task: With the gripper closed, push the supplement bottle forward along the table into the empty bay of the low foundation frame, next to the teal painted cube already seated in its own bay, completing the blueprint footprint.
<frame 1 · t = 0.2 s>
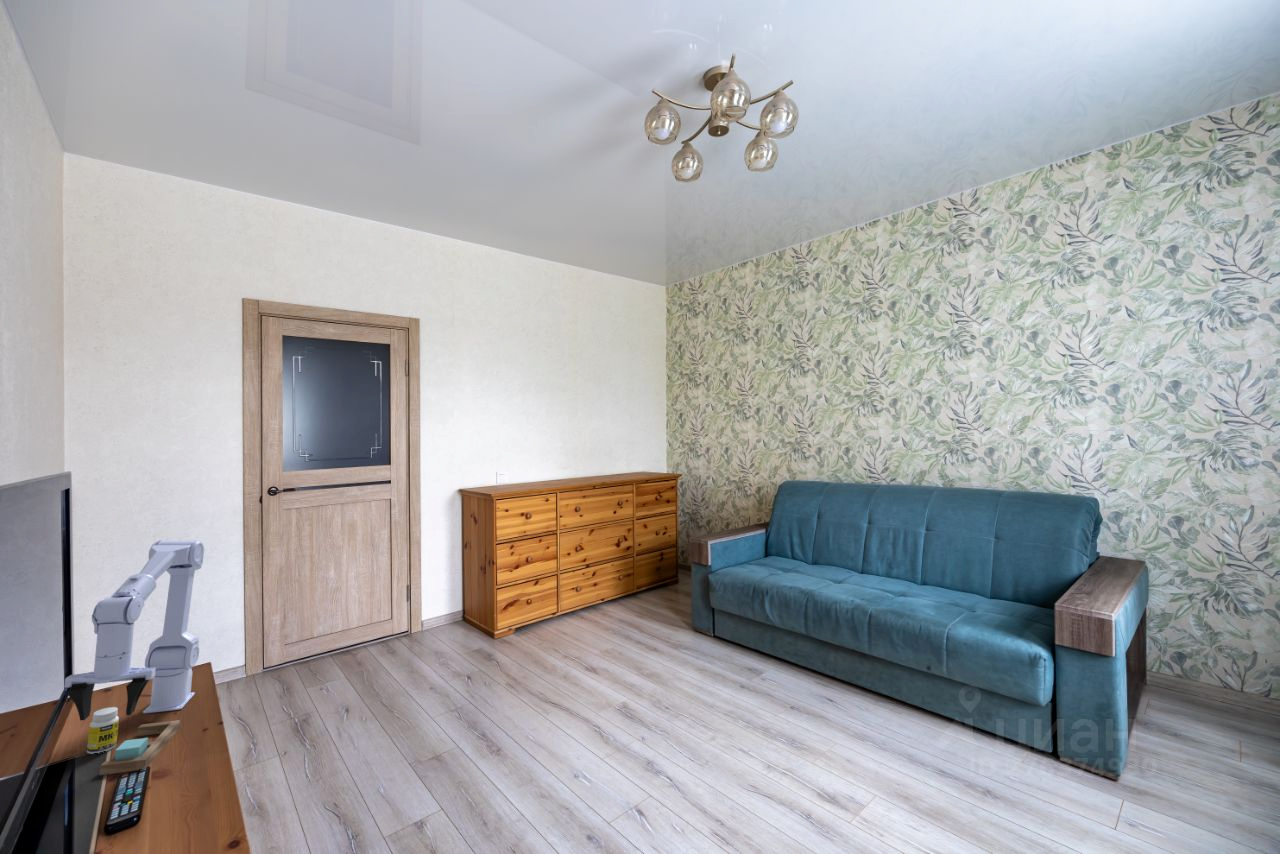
hand: (107, 715, 116), 10 cm above the tv stand, fingers open, 7 cm apart
foundation frame: (146, 742, 123), on the tv stand
supplement bottle: (101, 749, 120), on the tv stand
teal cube: (130, 762, 116), resting in foundation frame
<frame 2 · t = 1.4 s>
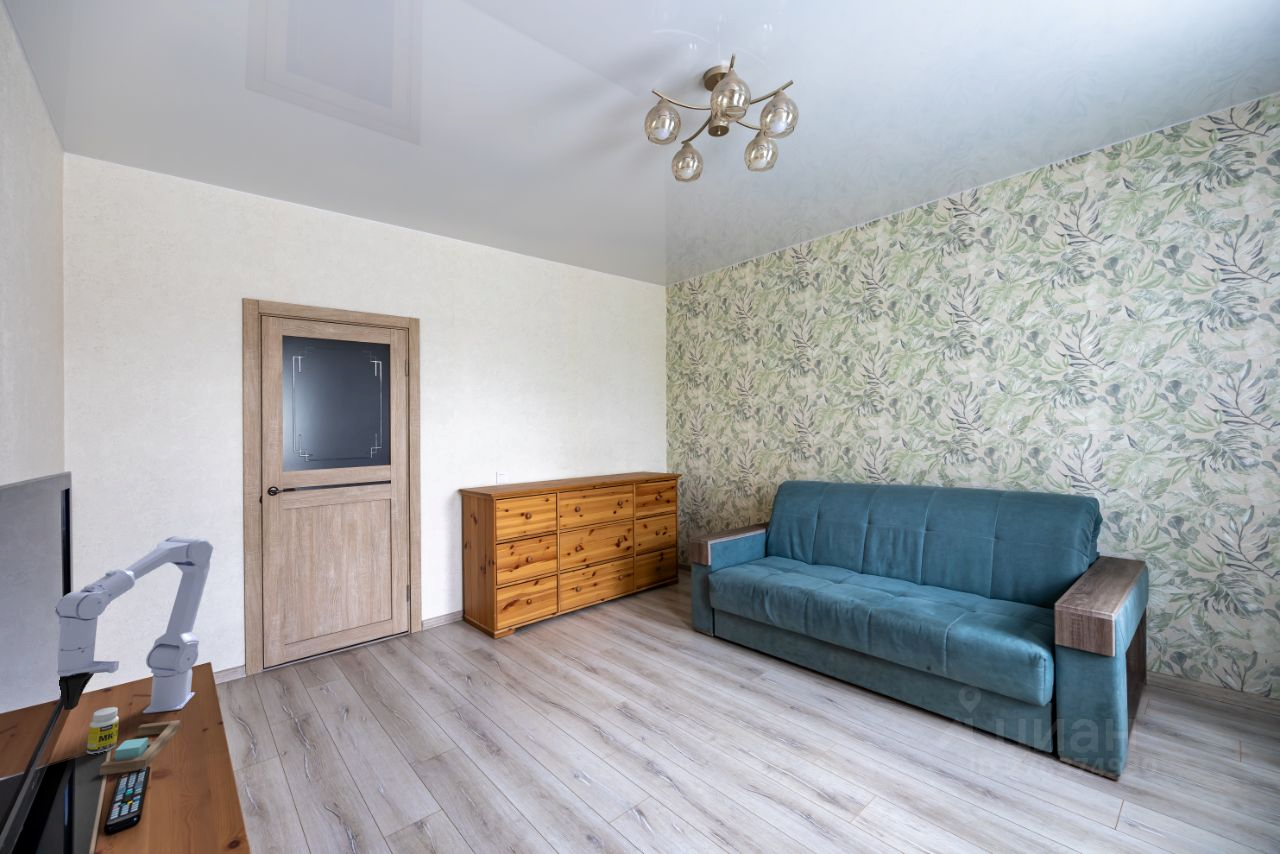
hand: (71, 707, 119), 10 cm above the tv stand, fingers closed
nothing on the tv stand moved.
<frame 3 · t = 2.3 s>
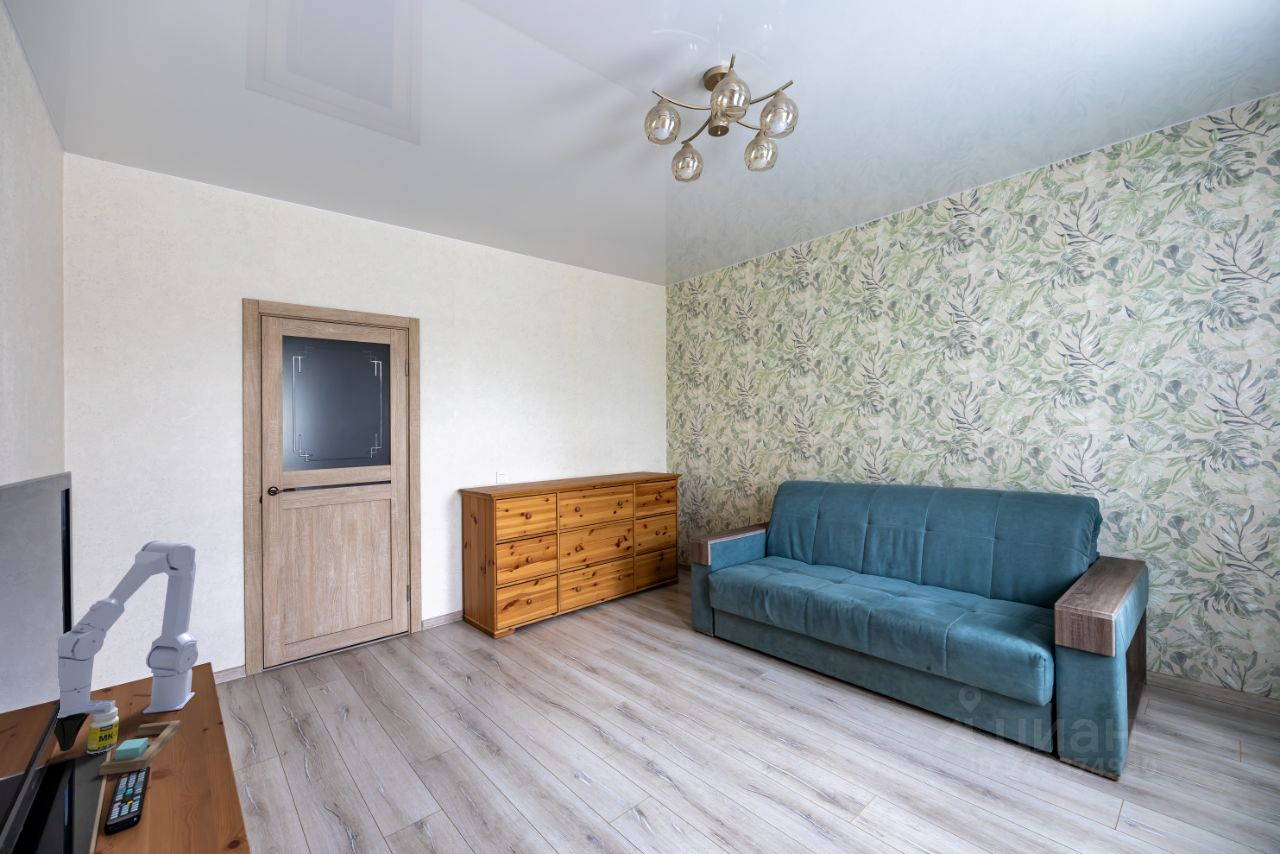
hand: (67, 748, 118), 1 cm above the tv stand, fingers closed
nothing on the tv stand moved.
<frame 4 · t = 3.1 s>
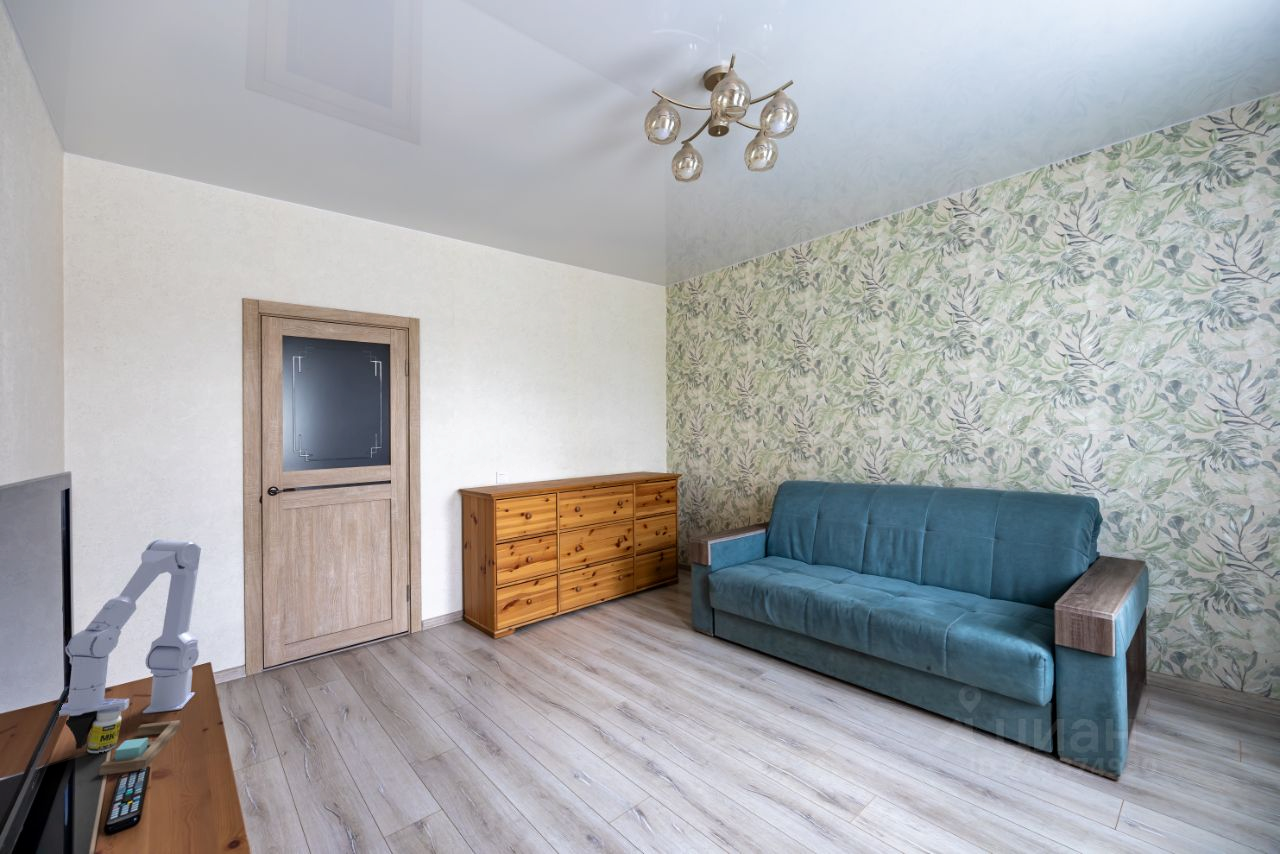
hand: (81, 746, 119), 1 cm above the tv stand, fingers closed, pressing on supplement bottle
supplement bottle: (101, 748, 120), on the tv stand, touching gripper
everything else where it was.
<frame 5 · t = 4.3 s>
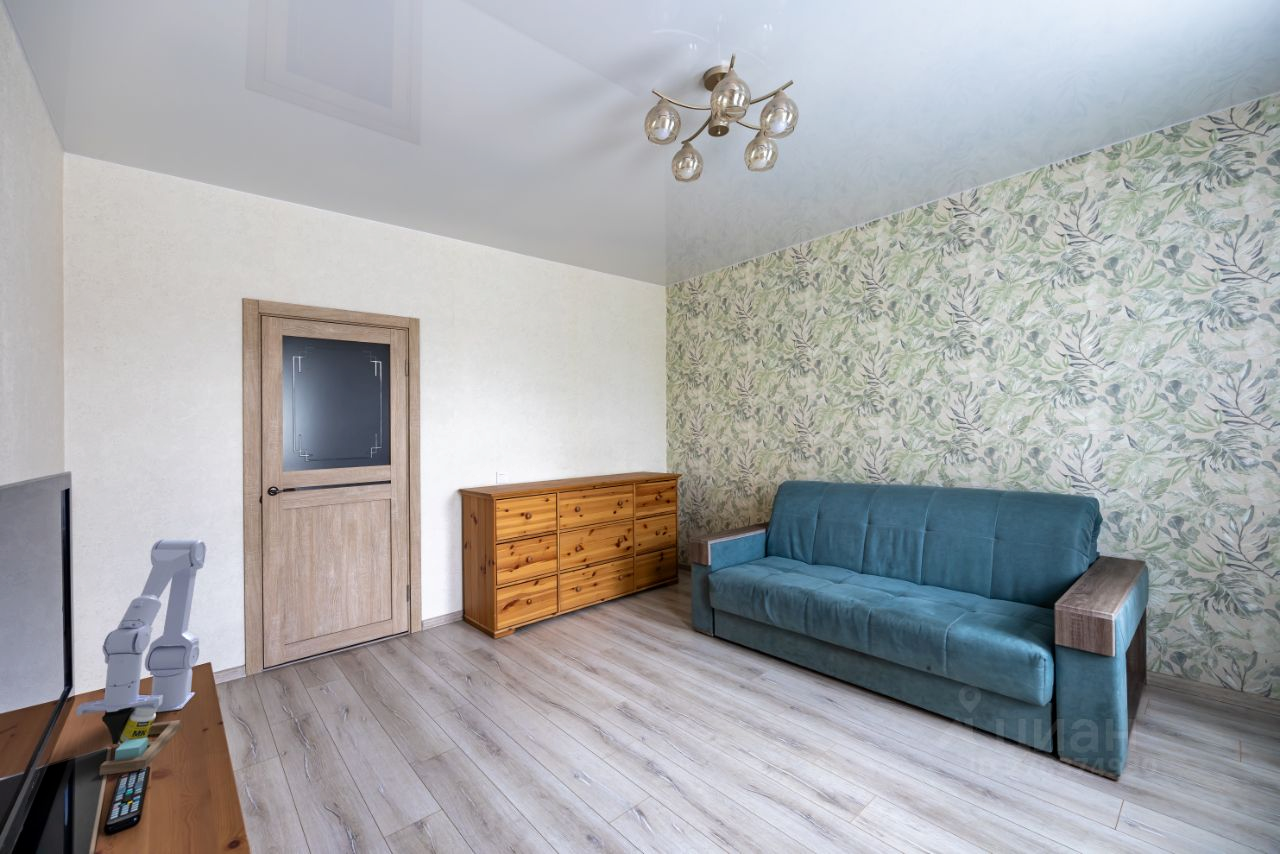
hand: (117, 742, 121), 1 cm above the tv stand, fingers closed, pressing on supplement bottle
supplement bottle: (131, 743, 122), on the tv stand, touching gripper
everything else where it was.
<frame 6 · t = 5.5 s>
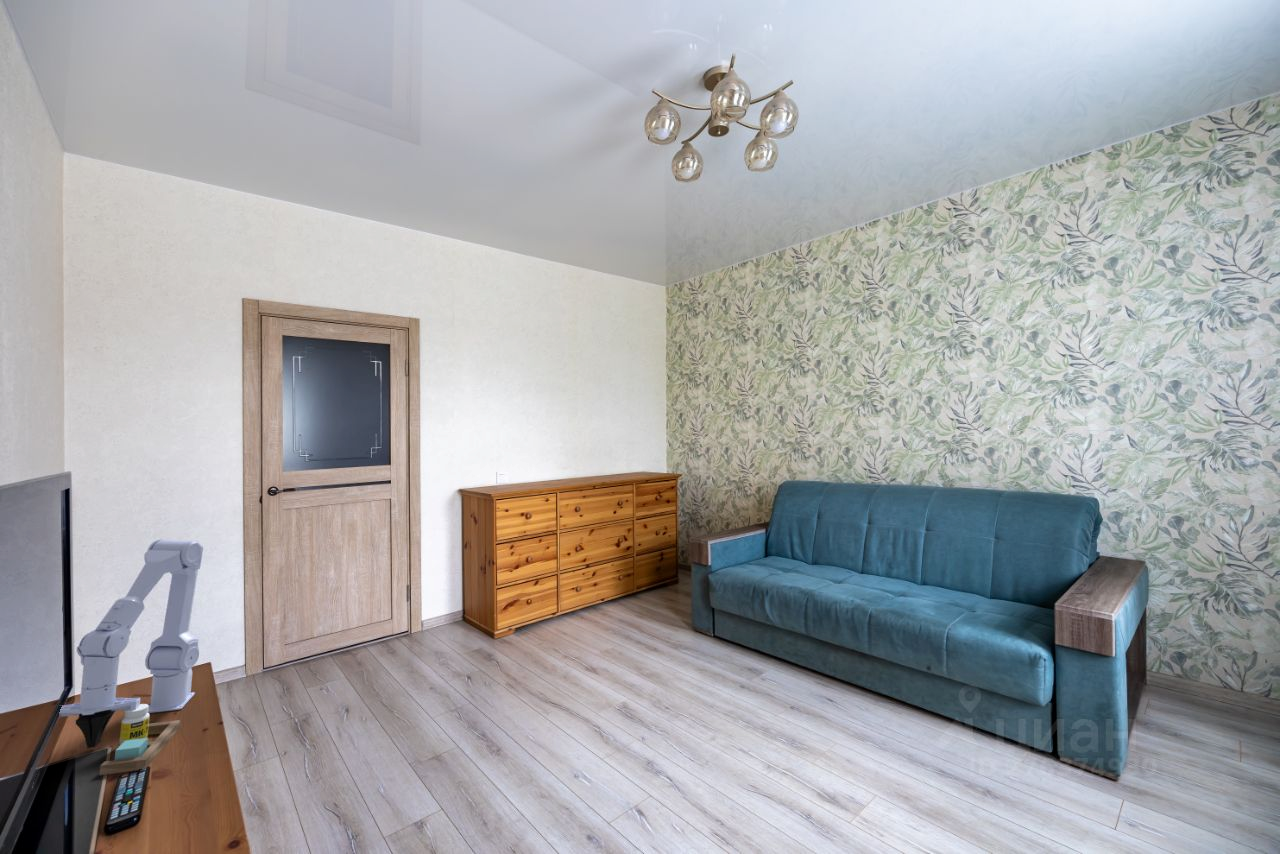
hand: (93, 745, 120), 1 cm above the tv stand, fingers closed
supplement bottle: (132, 745, 122), on the tv stand
everything else where it was.
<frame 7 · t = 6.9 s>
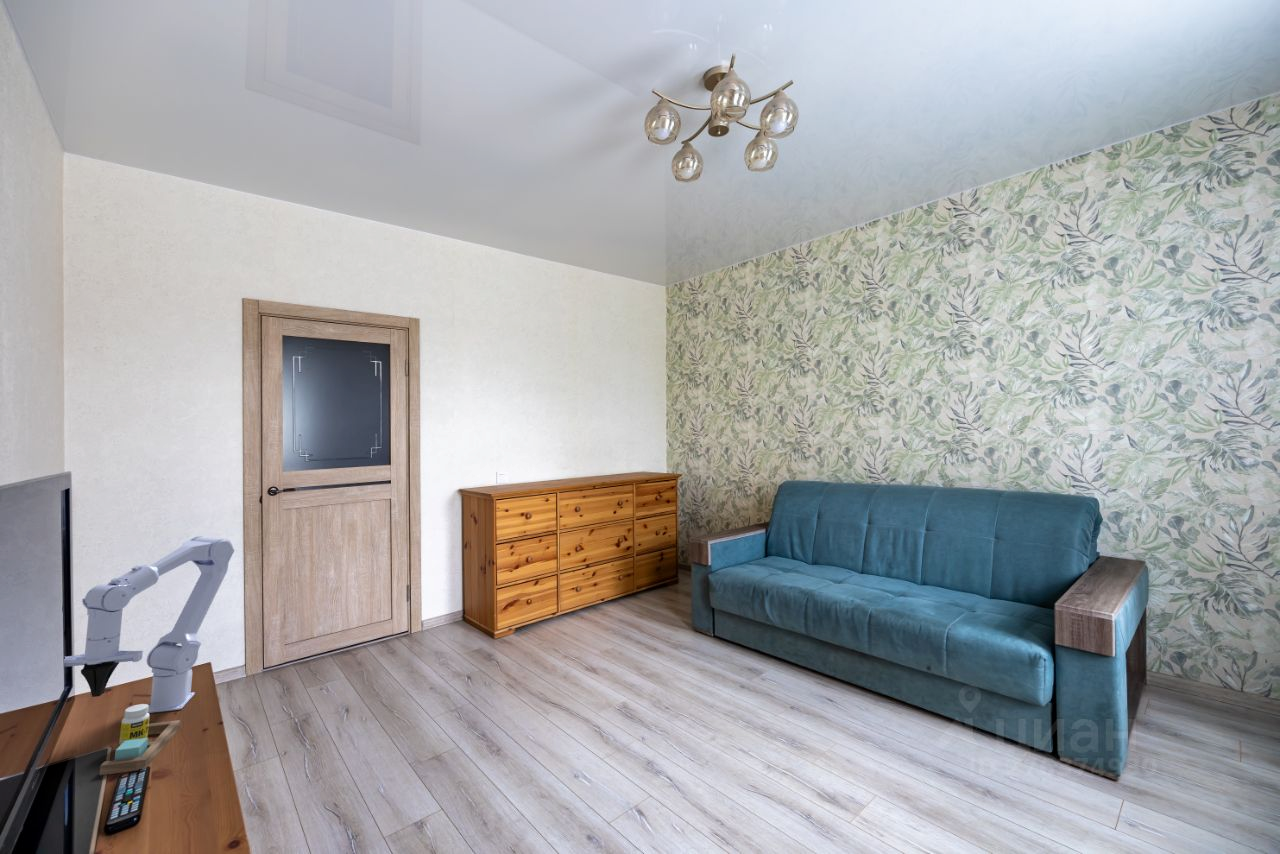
hand: (97, 694, 125), 10 cm above the tv stand, fingers closed
nothing on the tv stand moved.
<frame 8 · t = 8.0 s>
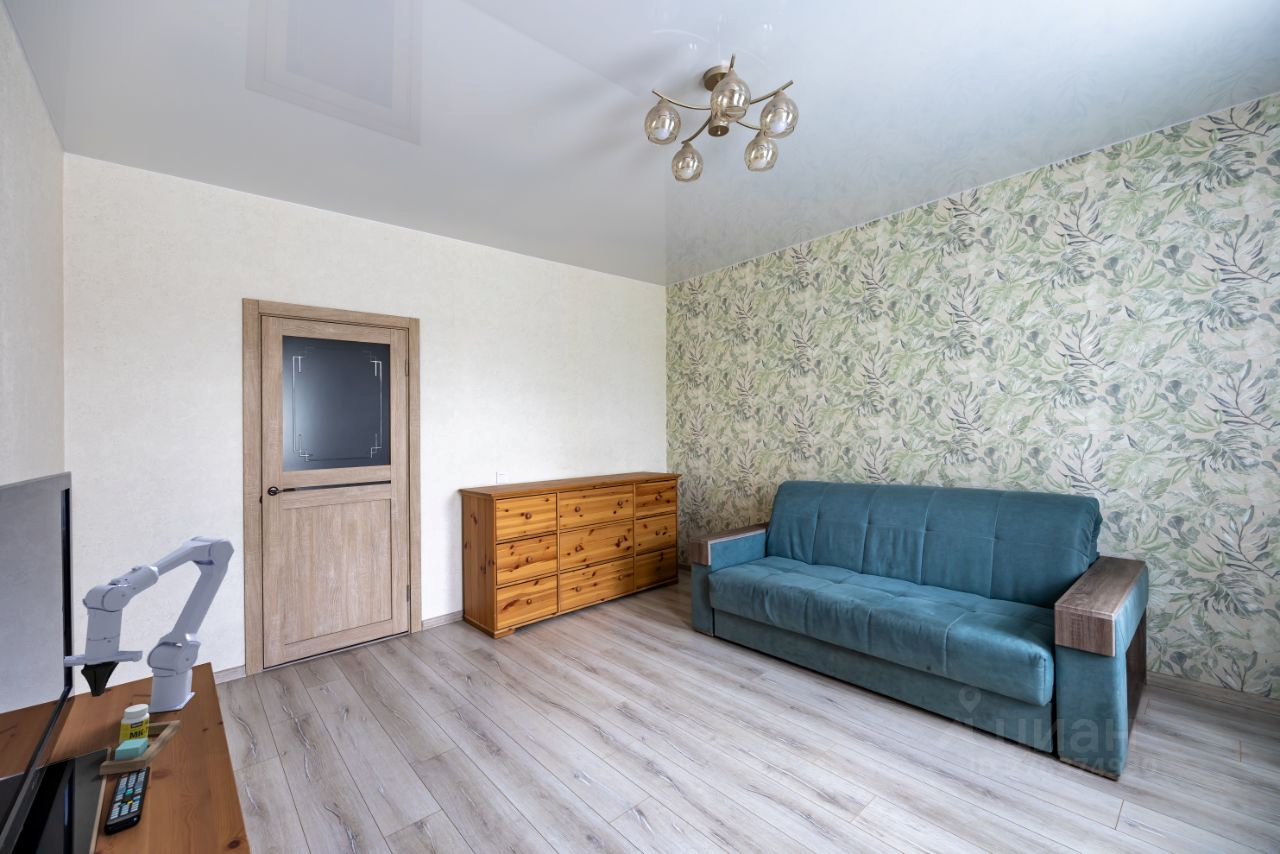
hand: (97, 694, 125), 10 cm above the tv stand, fingers closed
nothing on the tv stand moved.
at the end: supplement bottle 1.8 cm off-centre on the foundation frame, point 0.0 cm above the foundation frame's base; supplement bottle tilted 0°; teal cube moved 0.1 cm from its start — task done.
